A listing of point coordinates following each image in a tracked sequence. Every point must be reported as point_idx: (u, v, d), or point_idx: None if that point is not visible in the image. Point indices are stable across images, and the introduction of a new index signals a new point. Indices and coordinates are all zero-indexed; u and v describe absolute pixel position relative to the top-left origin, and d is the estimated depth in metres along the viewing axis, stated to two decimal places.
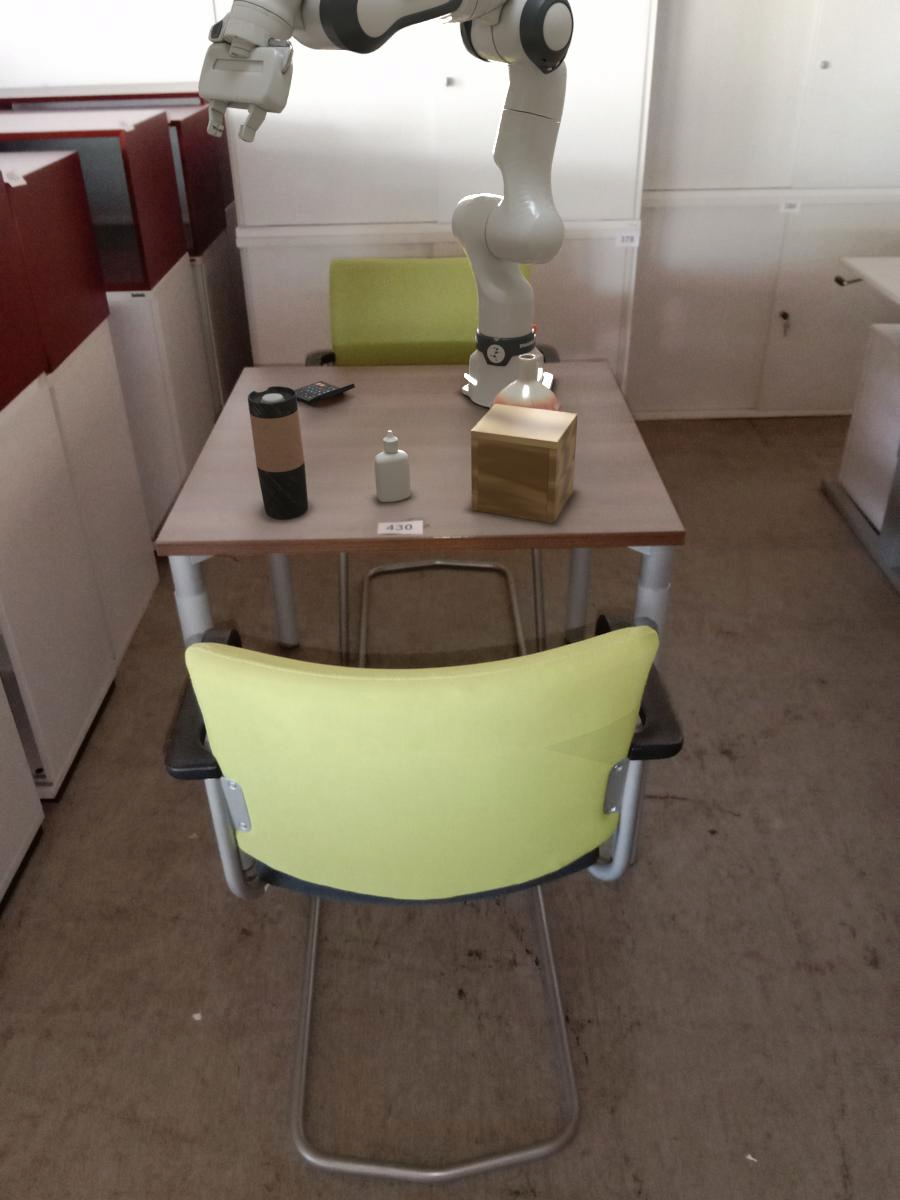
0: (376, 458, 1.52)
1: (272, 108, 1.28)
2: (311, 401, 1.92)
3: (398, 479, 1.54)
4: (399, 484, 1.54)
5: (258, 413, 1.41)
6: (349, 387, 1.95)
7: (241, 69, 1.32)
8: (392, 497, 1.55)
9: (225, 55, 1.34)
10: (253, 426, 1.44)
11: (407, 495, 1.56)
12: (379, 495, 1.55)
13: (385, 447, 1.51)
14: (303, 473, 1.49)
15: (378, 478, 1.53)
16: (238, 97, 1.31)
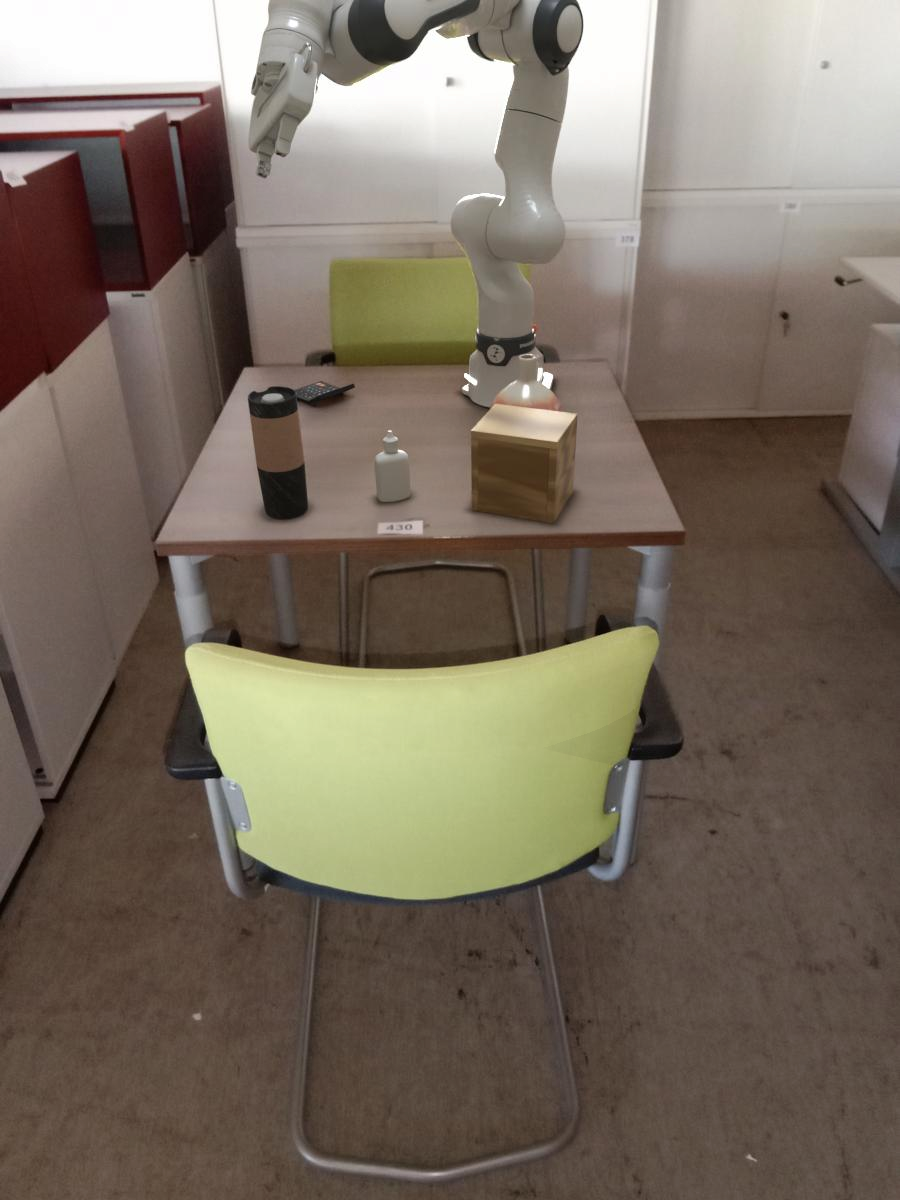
0: (376, 458, 1.52)
1: (298, 107, 1.23)
2: (311, 401, 1.92)
3: (398, 479, 1.54)
4: (399, 484, 1.54)
5: (258, 413, 1.41)
6: (349, 387, 1.95)
7: (274, 95, 1.30)
8: (392, 497, 1.55)
9: (264, 96, 1.34)
10: (253, 426, 1.44)
11: (407, 495, 1.56)
12: (379, 495, 1.55)
13: (385, 447, 1.51)
14: (303, 473, 1.49)
15: (378, 478, 1.53)
16: (271, 118, 1.28)
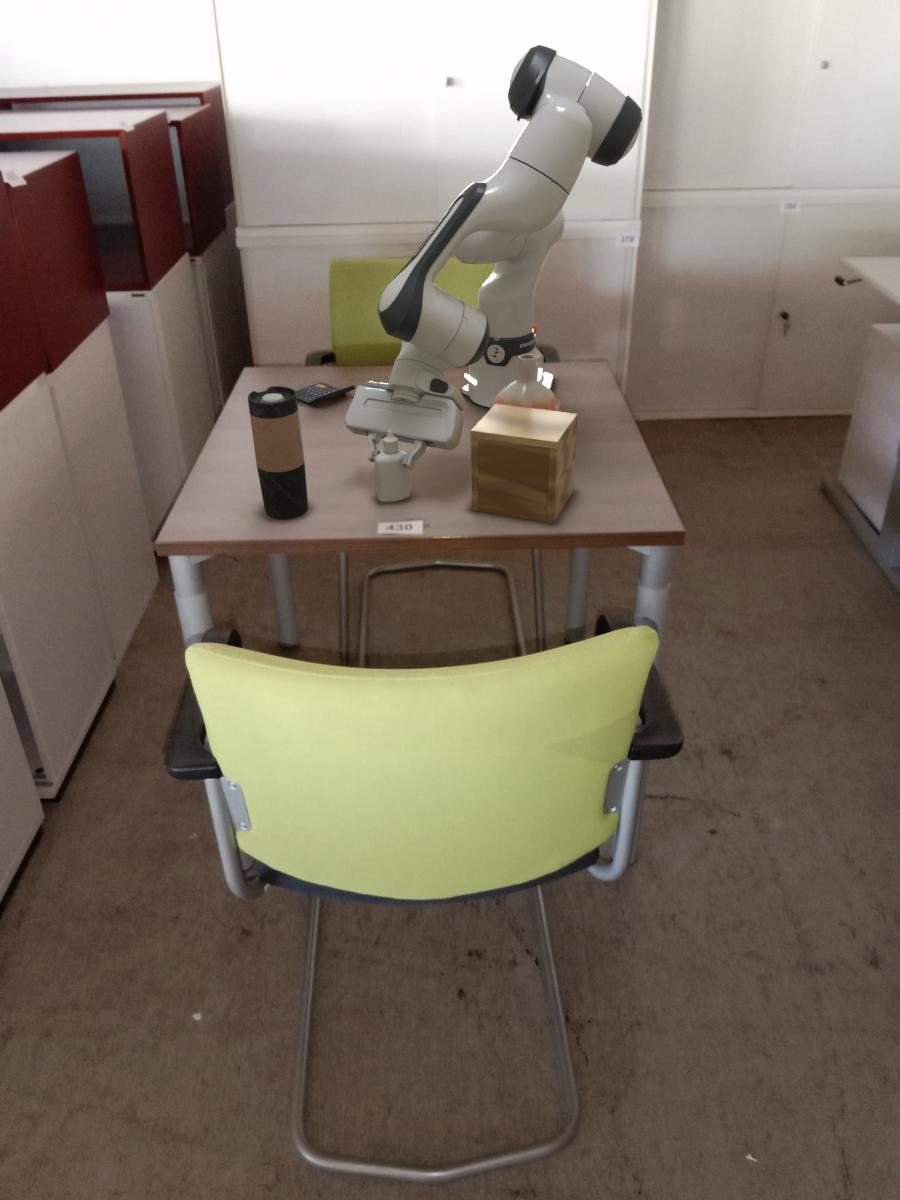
0: (376, 458, 1.52)
1: None
2: (311, 403, 1.93)
3: (398, 479, 1.54)
4: (399, 484, 1.54)
5: (258, 413, 1.41)
6: (349, 389, 1.95)
7: None
8: (392, 497, 1.55)
9: None
10: (253, 426, 1.44)
11: (407, 495, 1.56)
12: (379, 495, 1.55)
13: (385, 447, 1.51)
14: (303, 473, 1.49)
15: (378, 478, 1.53)
16: None
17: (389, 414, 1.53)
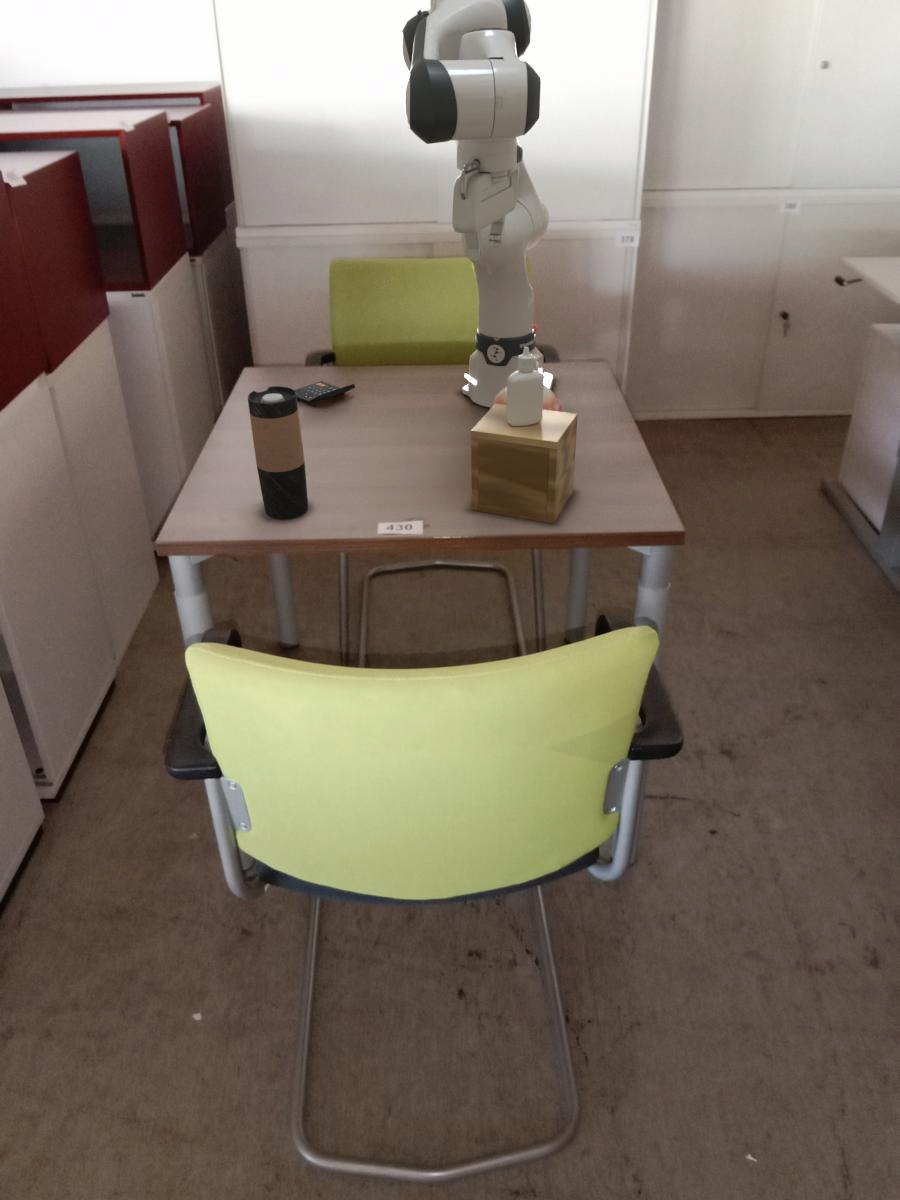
0: (510, 378, 1.42)
1: (465, 232, 1.36)
2: (311, 401, 1.92)
3: (532, 400, 1.44)
4: (533, 406, 1.45)
5: (258, 413, 1.41)
6: (349, 387, 1.94)
7: None
8: (525, 421, 1.45)
9: None
10: (253, 426, 1.44)
11: (539, 419, 1.47)
12: (511, 419, 1.45)
13: (521, 365, 1.42)
14: (303, 473, 1.49)
15: (511, 399, 1.44)
16: None
17: (492, 201, 1.39)
